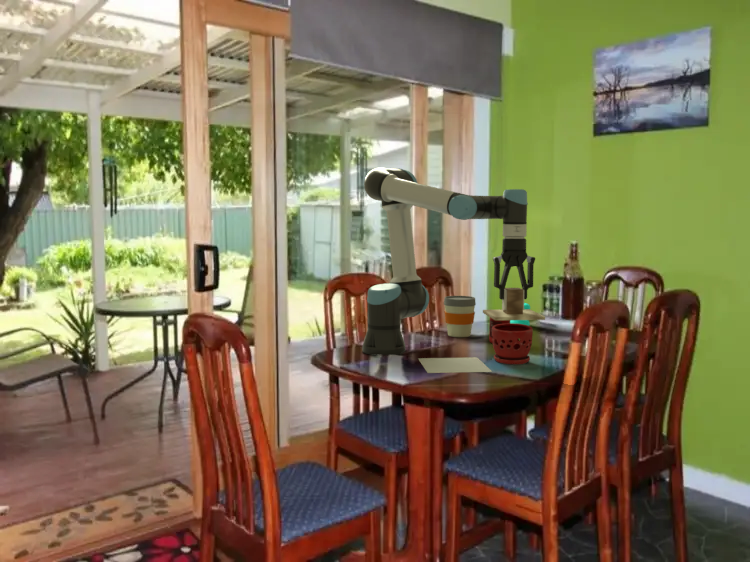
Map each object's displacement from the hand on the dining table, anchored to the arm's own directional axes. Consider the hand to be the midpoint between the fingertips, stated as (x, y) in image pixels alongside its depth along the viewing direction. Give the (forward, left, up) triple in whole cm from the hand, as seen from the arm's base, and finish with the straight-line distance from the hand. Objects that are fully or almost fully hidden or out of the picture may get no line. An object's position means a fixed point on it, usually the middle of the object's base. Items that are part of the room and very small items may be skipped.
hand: (512, 309), depth 220 cm
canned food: (+5, +33, -18) cm, 38 cm away
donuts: (+22, +66, -18) cm, 72 cm away
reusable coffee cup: (-7, +49, -18) cm, 53 cm away
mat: (-20, -4, -18) cm, 27 cm away
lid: (0, 0, -2) cm, 2 cm away
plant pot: (0, 0, -18) cm, 18 cm away
